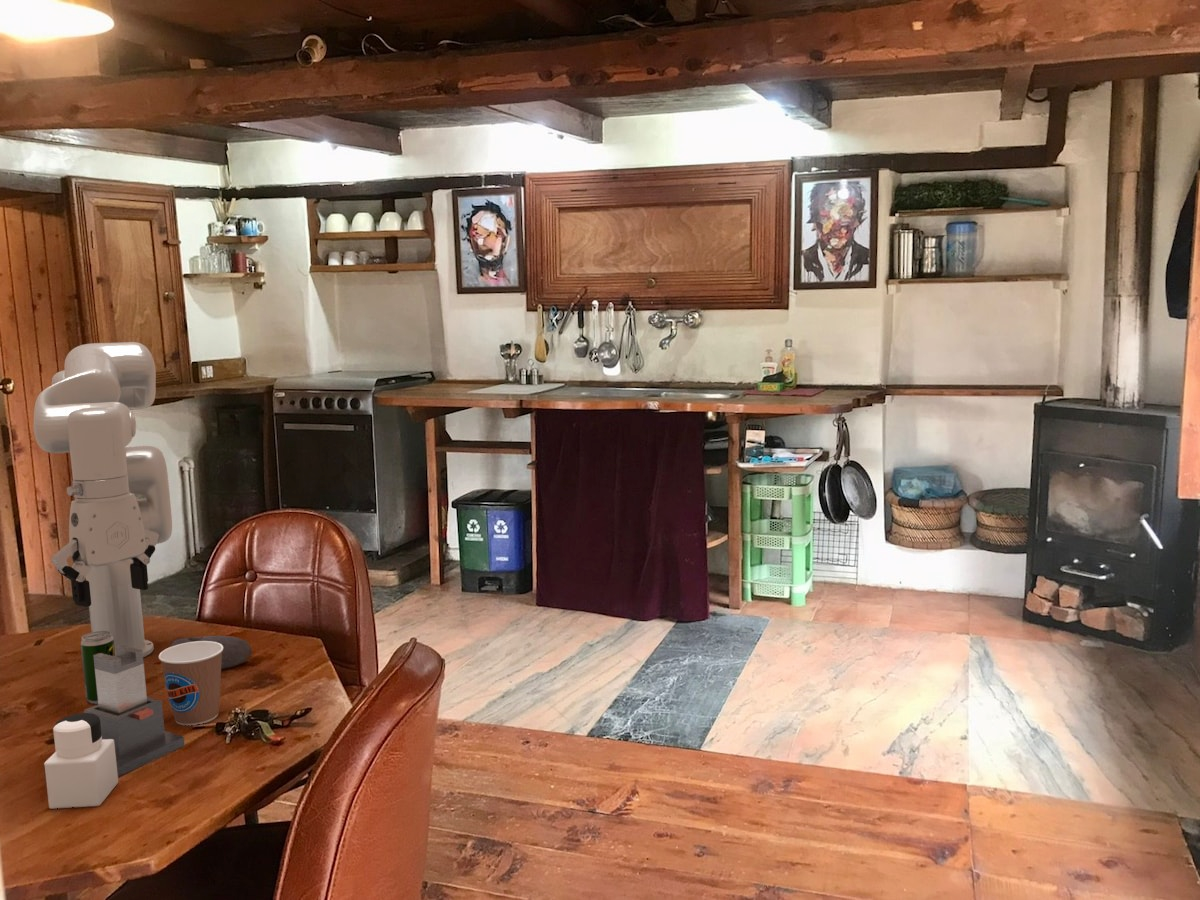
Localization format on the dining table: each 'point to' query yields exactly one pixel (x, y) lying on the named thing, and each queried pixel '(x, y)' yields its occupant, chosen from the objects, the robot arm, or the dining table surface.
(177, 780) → the dining table surface
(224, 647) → the perforated stone tool
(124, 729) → the base
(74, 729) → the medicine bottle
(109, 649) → the beer can
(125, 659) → the jack column
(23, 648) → the dining table surface
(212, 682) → the coffee cup
